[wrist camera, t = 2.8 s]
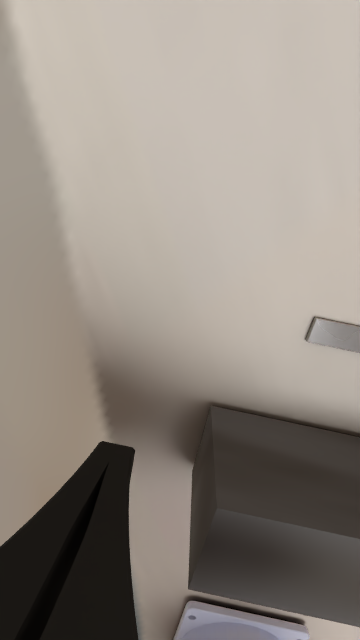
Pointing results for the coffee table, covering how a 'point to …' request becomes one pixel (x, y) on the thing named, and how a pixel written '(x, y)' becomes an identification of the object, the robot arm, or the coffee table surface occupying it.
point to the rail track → (334, 334)
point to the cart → (277, 516)
